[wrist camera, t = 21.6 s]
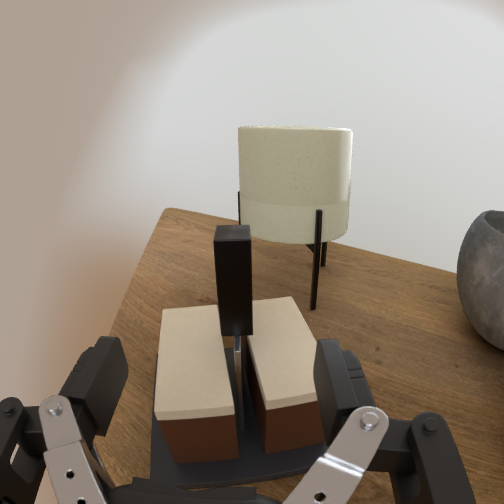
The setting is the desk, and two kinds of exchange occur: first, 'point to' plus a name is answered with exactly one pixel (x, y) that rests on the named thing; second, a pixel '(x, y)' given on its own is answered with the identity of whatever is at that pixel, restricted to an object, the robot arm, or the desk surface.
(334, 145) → the planter
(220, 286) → the knife
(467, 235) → the bowl
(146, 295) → the desk surface
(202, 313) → the cake
